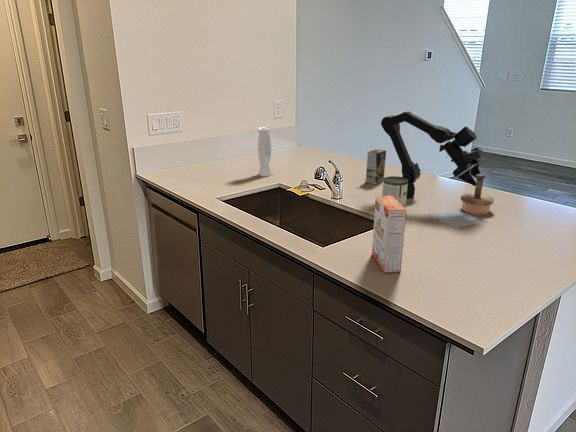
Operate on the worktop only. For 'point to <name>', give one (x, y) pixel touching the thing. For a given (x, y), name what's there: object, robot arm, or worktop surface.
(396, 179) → the coffee can
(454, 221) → the mat
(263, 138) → the skyscraper
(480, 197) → the lid
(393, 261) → the cracker box
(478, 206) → the bowl
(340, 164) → the worktop surface
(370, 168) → the coffee box
